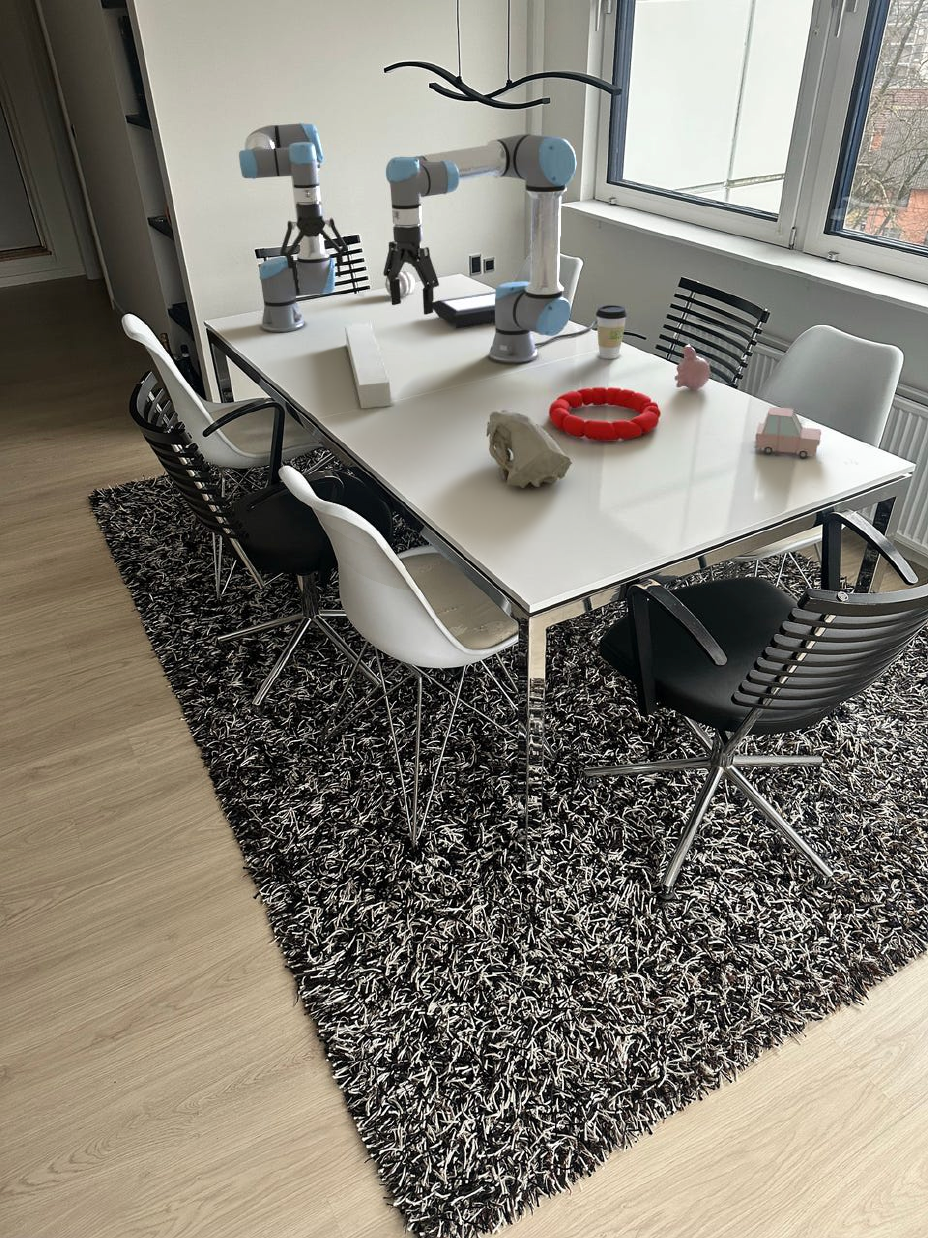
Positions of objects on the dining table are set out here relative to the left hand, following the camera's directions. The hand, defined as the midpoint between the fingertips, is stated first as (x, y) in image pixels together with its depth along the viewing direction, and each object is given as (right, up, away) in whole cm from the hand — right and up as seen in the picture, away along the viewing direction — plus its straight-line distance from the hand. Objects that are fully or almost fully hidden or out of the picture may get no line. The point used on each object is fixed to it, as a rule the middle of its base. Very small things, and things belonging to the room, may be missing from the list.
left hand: (317, 277), depth 273 cm
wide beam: (+14, -27, +9) cm, 32 cm away
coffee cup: (+92, -19, +16) cm, 96 cm away
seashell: (+20, +24, +83) cm, 88 cm away
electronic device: (+52, +6, +55) cm, 76 cm away
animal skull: (+59, -68, -53) cm, 105 cm away
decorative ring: (+83, -51, -29) cm, 102 cm away
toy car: (+126, -62, -48) cm, 149 cm away
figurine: (+112, -37, -11) cm, 118 cm away
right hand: (+31, -20, -31) cm, 49 cm away
